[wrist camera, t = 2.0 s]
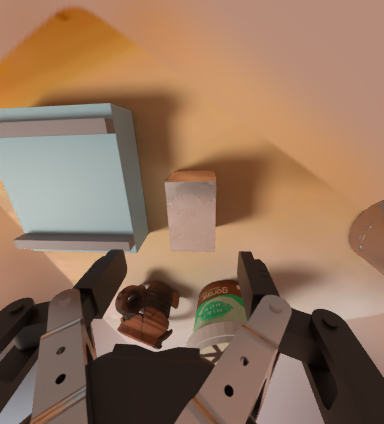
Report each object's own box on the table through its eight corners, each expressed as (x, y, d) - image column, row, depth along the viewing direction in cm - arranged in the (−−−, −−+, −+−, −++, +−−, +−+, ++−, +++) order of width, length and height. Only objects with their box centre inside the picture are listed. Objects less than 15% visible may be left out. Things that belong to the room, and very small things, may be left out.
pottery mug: (194, 302, 32) (176, 358, 28) (159, 295, 38) (139, 340, 33) (148, 268, 26) (116, 332, 21) (115, 266, 32) (84, 316, 27)
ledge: (131, 110, 21) (100, 99, 15) (148, 232, 27) (132, 260, 21) (20, 115, 22) (-51, 108, 16) (61, 231, 28) (21, 257, 22)
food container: (234, 261, 28) (247, 323, 18) (257, 285, 29) (280, 354, 20) (176, 296, 32) (163, 362, 22) (199, 316, 33) (196, 386, 24)
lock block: (214, 170, 23) (216, 181, 17) (213, 227, 26) (214, 252, 20) (175, 171, 23) (164, 182, 18) (178, 226, 26) (170, 251, 21)
